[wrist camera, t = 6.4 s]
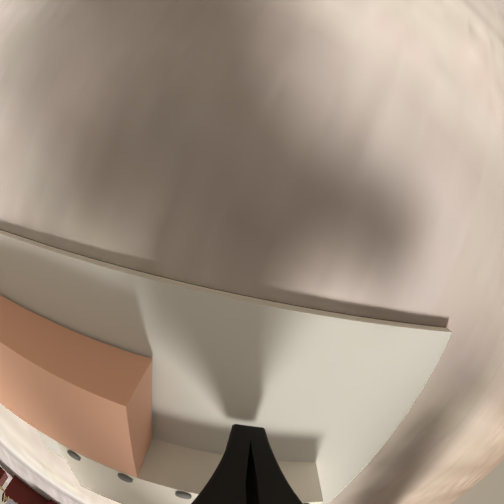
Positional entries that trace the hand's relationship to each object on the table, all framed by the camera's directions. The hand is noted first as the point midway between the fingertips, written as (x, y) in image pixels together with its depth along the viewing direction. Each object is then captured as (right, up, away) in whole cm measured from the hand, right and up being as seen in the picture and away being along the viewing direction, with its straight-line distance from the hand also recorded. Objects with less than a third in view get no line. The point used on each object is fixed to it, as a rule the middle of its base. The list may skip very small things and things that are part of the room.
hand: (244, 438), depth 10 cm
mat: (-4, -2, +2) cm, 5 cm away
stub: (-11, +3, +1) cm, 12 cm away
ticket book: (-4, -5, +3) cm, 7 cm away
